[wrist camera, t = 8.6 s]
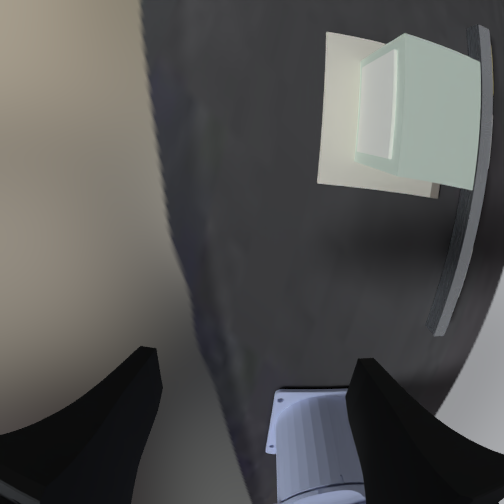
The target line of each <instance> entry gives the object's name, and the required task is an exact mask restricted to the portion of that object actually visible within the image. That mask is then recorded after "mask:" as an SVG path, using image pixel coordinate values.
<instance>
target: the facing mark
mask: <svg viewBox="0 0 504 504" xmlns="http://www.w3.org/2000/svg"><path fill="white" fill-rule="evenodd" d="M385 45H386V44H384V43H380V42H376V41H372V40H367V39H363V38H358V37H353V36H348V35H342V34H337V33H331V32H327V33H326V58H325V82H324V100H323V116H322V131H321V144H320V156H319V167H318V178H317V183H319V184H329V185H339V186H349V187H357V188H366V189H374V190H382V191H389V192H397V193H404V194H410V195H417V196H424V197H430V198H435V199H438V193H439V187H440V184H438V183H433V182H428V181H422V180H416V179H411V178H405V177H398V176H395V175H392V174H390V173H387V172H384V171H381V170H378V169H375V168H372V167H369V166H366V165H363V164H360V163H357V162H354V158H355V148H356V136H357V123H358V108H359V90H360V63H361V61H362V60H363V59H365V58H366V57H368V56H369V55H371V54H372V53H374V52H375V51H377V50H378V49H380V48H382V47H383V46H385Z"/></svg>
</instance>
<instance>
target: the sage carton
mask: <svg viewBox="0 0 504 504" xmlns="http://www.w3.org/2000/svg"><path fill="white" fill-rule="evenodd" d="M480 109H481V70H480V62H479V61H477V60H475V59H472V58H470V57H468V56H466V55H463V54H461V53H458V52H456V51H454V50H451V49H449V48H446V47H443V46H441V45H438V44H435V43H433V42H430V41H427V40H424V39H421V38H418V37H415V36H412V35H409V34H406V33H404V34H403V35H401V36H399V37H398V38H396V39H394V40H393V41H391V42H390V43H388V44H386V45H385V46H383V47H382V48H380V49H378V50H377V51H375V52H374V53H372V54H371V55H369V56H368V57H366V58H365V59H363V60H362V61H361V63H360V90H359V108H358V123H357V136H356V148H355V158H354V162H357V163H360V164H363V165H366V166H369V167H372V168H375V169H378V170H381V171H384V172H387V173H390V174H392V175H395V176H398V177H405V178H411V179H416V180H422V181H428V182H433V183H438V184H443V185H448V186H453V187H458V188H463V189H468V190H473V184H474V177H475V170H476V162H477V153H478V142H479V129H480Z"/></svg>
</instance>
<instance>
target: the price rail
mask: <svg viewBox="0 0 504 504" xmlns="http://www.w3.org/2000/svg"><path fill="white" fill-rule="evenodd" d="M466 30H467V42H468V57H470V58H472V59H475V60H477V61H479V62H480V70H481V109H480V129H479V142H478V153H477V162H476V170H475V177H474V184H473V190H468V189H463V188H461V191H460V197H459V202H458V208H457V213H456V218H455V223H454V228H453V232H452V237H451V241H450V245H449V250H448V254H447V258H446V261H445V265H444V269H443V272H442V276H441V279H440V283H439V286H438V289H437V293H436V296H435V299H434V302H433V305H432V308H431V311H430V314H429V317H428V320H427V323H426V326H427V328H428V329H429V331H430V332H431V333H432V335H433V336H444V334H445V332H446V329H447V327H448V324H449V322H450V319H451V316H452V313H453V311H454V308H455V305H456V302H457V299H458V297H459V295H460V292H461V289H462V286H463V283H464V280H465V276H466V273H467V270H468V266H469V263H470V259H471V255H472V252H473V245H474V241H475V237H476V233H477V228H478V224H479V219H480V214H481V209H482V204H483V198H484V192H485V186H486V179H487V172H488V169H489V161H490V152H491V141H492V126H493V115H492V112H493V61H492V47H491V43H490V33H489V29H487V28H485V27H483V26H481V25H479V24H477V25H475V26H472V27H469V28H467V29H466Z"/></svg>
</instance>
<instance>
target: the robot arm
mask: <svg viewBox="0 0 504 504" xmlns="http://www.w3.org/2000/svg"><path fill="white" fill-rule="evenodd" d="M162 389H163V386H162V381H161V375H160V369H159V363H158V356H157V350H156V348H150V347H143V346H140V347H139V348H138V349H137V350H136V351H134V352H133V353H132V354H131V355H130V356H129V357H128V358H127V359H126V360H125V361H124V362H123V363H121V364H120V365H119V366H118V367H117V368H116V369H115V370H114V371H113V372H111V373H110V374H109V375H108V376H107V377H106V378H105V379H103V381H101V382H100V383H99V384H97V385H96V386H95V387H94V388H92V389H91V390H90V391H88V392H87V393H86V394H85V395H83V396H82V397H81V398H79V399H78V400H76V401H75V402H74V403H72V404H70V405H69V406H67V407H65V408H64V409H62V410H60V411H59V412H57V413H55V414H53V415H51V416H49V417H47V418H45V419H43V420H41V421H39V422H37V423H35V424H32V425H30V426H27V427H24V428H22V429H19V430H16V431H13V432H10V433H6V434H3V435H0V504H131V500H132V494H133V488H134V483H135V479H136V474H137V469H138V465H139V462H140V459H141V455H142V453H143V450H144V447H145V445H146V442H147V439H148V436H149V434H150V431H151V428H152V425H153V423H154V420H155V417H156V414H157V411H158V407H159V403H160V399H161V394H162ZM280 398H282V399H280ZM266 453H268V454H276V462H277V498H278V504H499V503H498V502H499V501H500V500H502V499H503V498H504V454H501V453H498V452H495V451H492V450H490V449H488V448H485V447H483V446H481V445H479V444H477V443H475V442H473V441H471V440H469V439H467V438H466V437H464V436H462V435H460V434H459V433H457V432H455V431H454V430H452V429H451V428H449V427H448V426H446V425H445V424H444V423H442V422H441V421H440V420H438V419H437V418H435V417H434V416H433V415H432V414H430V413H429V412H428V411H427V410H426V409H425V408H423V407H422V406H421V405H420V404H419V403H418V402H417V401H416V400H414V399H413V398H412V397H411V396H410V395H409V394H408V393H407V392H406V391H405V390H404V389H403V388H402V387H401V386H400V385H399V384H398V383H397V382H396V381H395V380H394V379H393V378H392V377H391V376H390V375H389V374H388V372H387V371H386V370H385V369H384V368H383V367H382V366H381V365H380V364H379V363H378V362H377V361H376V360H375V359H374V358H363V359H358V361H357V364H356V367H355V370H354V373H353V376H352V379H351V382H350V385H349V388H346V389H279V390H277V391H276V392H275V395H274V402H273V408H272V414H271V420H270V426H269V432H268V438H267V444H266Z"/></svg>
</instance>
